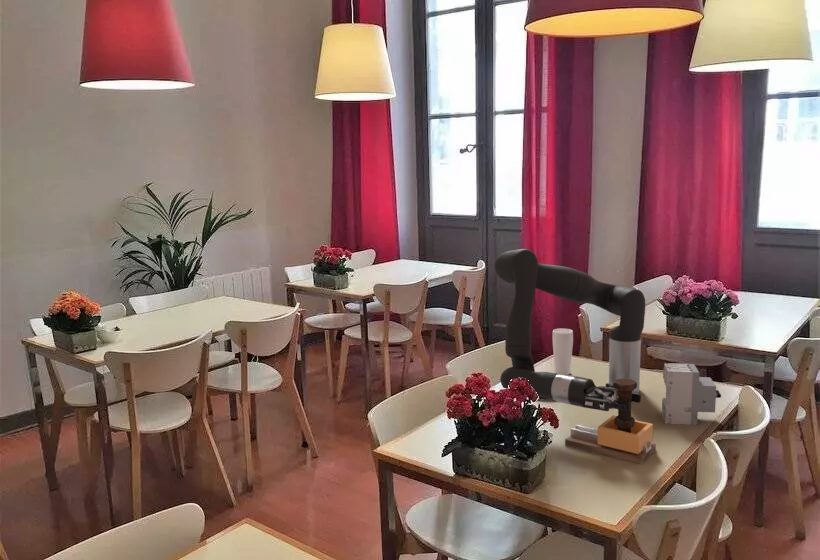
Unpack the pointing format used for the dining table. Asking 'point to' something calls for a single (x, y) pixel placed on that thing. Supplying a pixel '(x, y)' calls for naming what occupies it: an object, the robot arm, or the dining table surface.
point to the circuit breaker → (686, 394)
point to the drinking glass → (562, 350)
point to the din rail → (596, 435)
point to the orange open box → (625, 436)
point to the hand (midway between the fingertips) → (635, 402)
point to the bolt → (624, 394)
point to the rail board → (607, 449)
